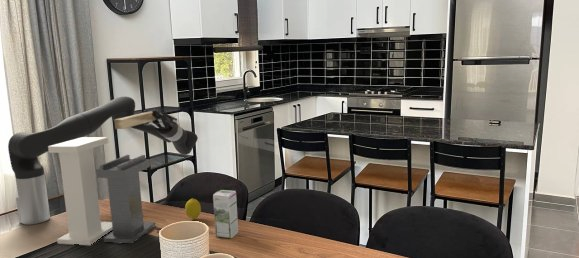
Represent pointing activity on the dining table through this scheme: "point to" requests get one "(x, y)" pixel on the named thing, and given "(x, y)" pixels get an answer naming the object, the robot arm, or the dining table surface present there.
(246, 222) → the dining table surface
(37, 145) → the robot arm
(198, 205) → the lemon
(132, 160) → the holder
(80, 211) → the white i-beam pedestal
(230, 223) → the syrup box
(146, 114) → the bar
